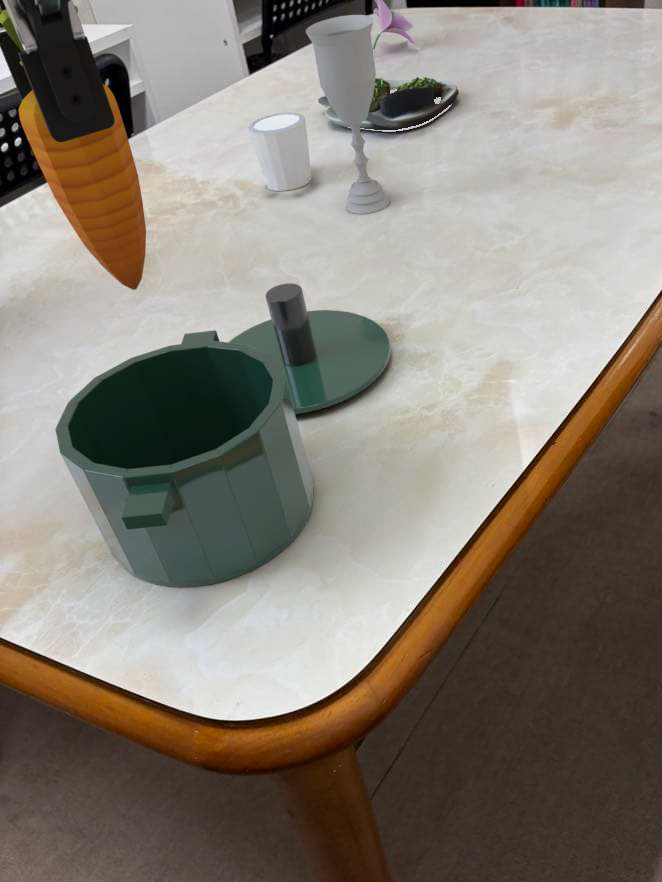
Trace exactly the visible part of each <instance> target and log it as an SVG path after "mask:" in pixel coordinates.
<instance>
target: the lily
mask: <svg viewBox="0 0 662 882" xmlns="http://www.w3.org/2000/svg"><path fill="white" fill-rule="evenodd" d="M374 1H375V4H376V6H377V7H376V8H374V9H373V13H374V15H376V16H378V24H379V32H378V33H377V36H376V38H375V40H374V43H373V45H372V49H374V50H375V49H376V45H377V43H378V40H379V38H380V36H381V34H383V33H390V34H391V33H392V34H397V35H400V36H401V35H402V36H404V37H405V38H407V39H408V41H409V42H410V43H411V44H412V43H413V44H416V42H415V41H414V40H413V38H412V37H411V36H410V35H409V33H407V32H408V31H410V30H412V29H413V28H414V25H413V24H412V22H411V21H410V20H409V19H408V18H406V17H405V15H403V14H402V13H400V12H399V11H396V9H394V10H390V8H389V7H388V5H387V4H386V3H385V1H384V0H374ZM402 36H401V37H402ZM413 44H412V45H413ZM417 50H419V51H420V48H419V49H417Z"/></svg>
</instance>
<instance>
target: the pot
mask: <svg viewBox="0 0 662 882" xmlns="http://www.w3.org/2000/svg"><path fill="white" fill-rule="evenodd" d="M228 342H229V341H228ZM228 342H227V341H220V338H219V335H218V332H217V330H206V331H199V332H198V331H197V332H190V333H189V332H188V333H184V335H183V337H182V340H181V343H179V344H178V343H177V344H172V345H167V346H163V347H161V348H158V349H155V350H151V351H148V352H145V353H141V354H139V355H136V356H133V357H130V358H128V359H126V360H125V361H122V362H121V363H119V364H117V365H114V366H113V367H112V368H110V369H108V370H106V371H105V372H102V373H100V374H99V375H97V376H95V377H94V378H92V380H90V381H89V382H88V383H87V384H86V385H85V386H84V387H83V388H82V389H81V390H80V391H78V392H77V393H76V394H75V395H74V396H73V397H72V398H70V400H69V401H68V402H67V403H66V406H65V408H64V410H63V412H62V413H61V416H60V418H59V420H58V422H57V424H56V427H55V434H56V439H57V440H56V441H57V444H58V449H59V454H60V455H61V457H62V459H63V461H64V464H65V465H66V468H67V469H68V471H69V473H70V475H71V477H72V479H73V481H74V483H75V485H76V487H77V488H78V491H79V493H80V495H81V496H82V498H83V500H84V503H85V505H86V507H87V508H88V510H89V512H90V514H91V516H92V518H93V520H94V522H95V524H96V527H97V528H98V530H99V532H100V534H101V536H102V538H103V540H104V542H105V544H106V545H107V547H108V549H109V551H110V554H111V555H112V557H113V558H114V559H116V560H117V561H118V563H119V565H120V566H122V568H123V569H124V570H125V571H126V572H128V573H129V574H131V575H133V576H134V577H135V578H137V579H140V580H142V581H144V582H147V583H150V584H154V585H158V586H163V587H170V588H172V587H173V588H193V587H194V588H195V587H196V588H197V587H202V586H209V585H213V584H218V583H222V582H226V581H229V580H232V579H234V578H238V577H240V576H242V575H245V574H247V573H251V572H252V571H254V570H256V569H258V568H260V567H261V566H263V565H265V564H267V563H268V562H270V561H271V560H272V559H274V558H276V557H277V556H279V554H281V553H282V552H283V551H284V550H285V549H286V548H288V547H289V546H290V545H291V544H292V543H293V542H294V541H295V540H296V539H297V537H298V536H299V535H300V533H301V532H302V530H304V527H305V525H306V524H307V523H308V521H309V518H310V515H311V512H312V510H313V509H312V508H313V504H314V490H313V488H314V482H313V478H312V474H311V471H310V466H309V463H308V459H307V455H306V451H305V447H304V444H303V443H304V442H303V439H302V436H301V432H300V428H299V424H298V420H297V417H296V414H295V412H294V409H293V405H292V401H291V397H290V393H289V390H288V386H287V382H286V378H285V376H284V374H283V373H282V371H281V370H280V368H279V366H278V365H277V363H276V362H275V360H274V358H273V357H271V356H269V355H267V354H265V353H263V352H261V351H259V350H257V349H255V348H253V347H251V346H249V345H246V344H237V343H228Z"/></svg>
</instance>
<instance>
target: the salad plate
mask: <svg viewBox="0 0 662 882" xmlns="http://www.w3.org/2000/svg"><path fill="white" fill-rule="evenodd" d="M395 89H397V91H395V92H394V93H391V94H390V90H395ZM459 93H460V92H459V89H458V87H457V84H456V83H453V82H452V81H447V80H435V79H434V78H429V77H426V76H425V77H424V76H422V77H421V78H420V77H418V76H416V77H414V78H413V79H412V80H403V79H383V77H378V78H375V85H374V92H373V97H372V101H371V104H370V108H369V112H368V116H367V119H366V120H365V121H363V122H362V123H360V128H364V129H374V130H398V129H402V128H408V127H411V126H416V125H419V124H422V123H424V122H426V121H429V120H430V119H432V118H434V117H435V116H437V115H438V114H439V113H441V112H442V111H443V110H444V109H446V108H447V107H448V106H449V105H451V104H452V103H453V102H455V101H456V99H457V98H458V96H459ZM436 97H437V98H438V97H441V101H440V103H439V104H435V102H434V99H436ZM454 100H455V101H454ZM317 102H318V103H319V104H320V105H321V106H323V107H325V108H326V110H325V114H324V115H325V117H326V119H328V121H329V122H330V123H332V124H335V125H337V126H340V127H342V126H343V128H345V127H350V125H347V124H343V123H342V122H341V120H340V119H339V117H338V116H337V114H336V113H335V111H334V109H333V108H332V106H331V105H330V103H329V102H328V100H327V97H326V95H324V96H321V97H319V98H318V99H317ZM453 104H454V103H453ZM453 104H452V105H453ZM451 108H452V106H451V107H450V108H449V109H448V110H447V111H446V112H444V113H443V114H442V115H440V116H439V117H437V118H436V119H434V120H433V121H431V122H429V123H427V124H425V125H423V126H420V127H417V128H413V129H409V130H403V131H396V132H386V133H387V134H388V133H389V134H390V133H391V134H392V133H393V134H394V133H395V134H396V133H404V132H409V131H413V130H417V129H420V128H422V127H423V128H424V127H426V126H427V125H429V124H431V123H433V122H434V121H436V120H438V119H439V118H441V117H442V116H444V115H445V114H446V113H447V112H448V111H450V109H451ZM347 129H348V130H351V127H350V128H347ZM360 131H363V130H362V129H360ZM366 131H367V132H372V131H371V130H365V132H366ZM373 132H375V133H383V132H382V131H373Z"/></svg>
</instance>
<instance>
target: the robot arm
mask: <svg viewBox="0 0 662 882" xmlns="http://www.w3.org/2000/svg"><path fill="white" fill-rule="evenodd" d="M74 5H75V4H74V2H73V0H0V14H1V13H2V11H3V10H6V9H7V11H8V14H9V16H10V18H11V21H12V23H13V26H14V28H15V30H16V33H17V35H18V37H19V40H20V42H21V44H22V47H23V49H24V52H22V51H21V50H20V49H19V47H18V46H17V45H16V43H15V42H14V41H13V40H12V38H11V37H10V36H9V35H8V33H7V32H6V30H5V29H4V27H3V26H2V24H1V23H0V50H1V53H2V55H3V58H4V61H5V63H6V65H7V67H8V70H9V73H10V76H11V77H12V81H13V82H14V85H15V87H16V89H17V90H16V91H17V93H18V95H19V97H20V100H21V101H22V100H23V99H24V98H25V97H26V96H27V95H28V94H29V93H30V92H31V91H32V90H33V93H34V95H35V98H36V100H37V103H38V105H39V108H40V110H41V113H42V116H43V118H44V121H45V123H46V126H47V128H48V131H49V133H50V135H51V137H52V138H53V139H54V140H55V141H57V142H65V141H68V140H72V139H75V138H78V137H82V136H85V135H88V134H91V133H95V132H98V131H101V130H105V129H108V128H111V127H112V126H113V125H114V122H115V119H114V116H113V113H112V110H111V107H110V104H109V101H108V98H107V95H106V92H105V89H104V86H103V84H104V83H103V80H102V77H101V74H100V72H99V68H98V65H97V63H96V60H95V57H94V53H93V51H92V47H91V45H90V42H89V39H88V36H86V35H85V31H84V29H83V25H82V23H81V20H80V18H79V15H78V14H77V12H76V10H75V7H74ZM20 61H21V62H22V65H23V66H22V65H21V64H20Z"/></svg>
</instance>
